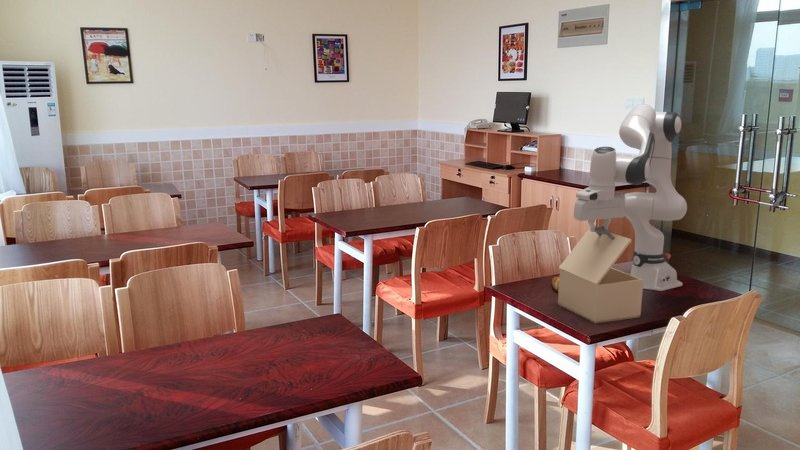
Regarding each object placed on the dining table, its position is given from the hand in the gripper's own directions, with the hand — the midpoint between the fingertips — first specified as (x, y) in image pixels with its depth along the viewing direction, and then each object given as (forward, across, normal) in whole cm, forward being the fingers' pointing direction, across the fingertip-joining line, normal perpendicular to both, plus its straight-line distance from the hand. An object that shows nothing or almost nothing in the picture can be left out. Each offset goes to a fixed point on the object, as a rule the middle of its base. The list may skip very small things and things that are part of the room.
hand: (598, 231), depth 235 cm
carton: (+30, -2, 0) cm, 30 cm away
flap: (+9, +1, 0) cm, 9 cm away
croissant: (+31, -5, -24) cm, 39 cm away
